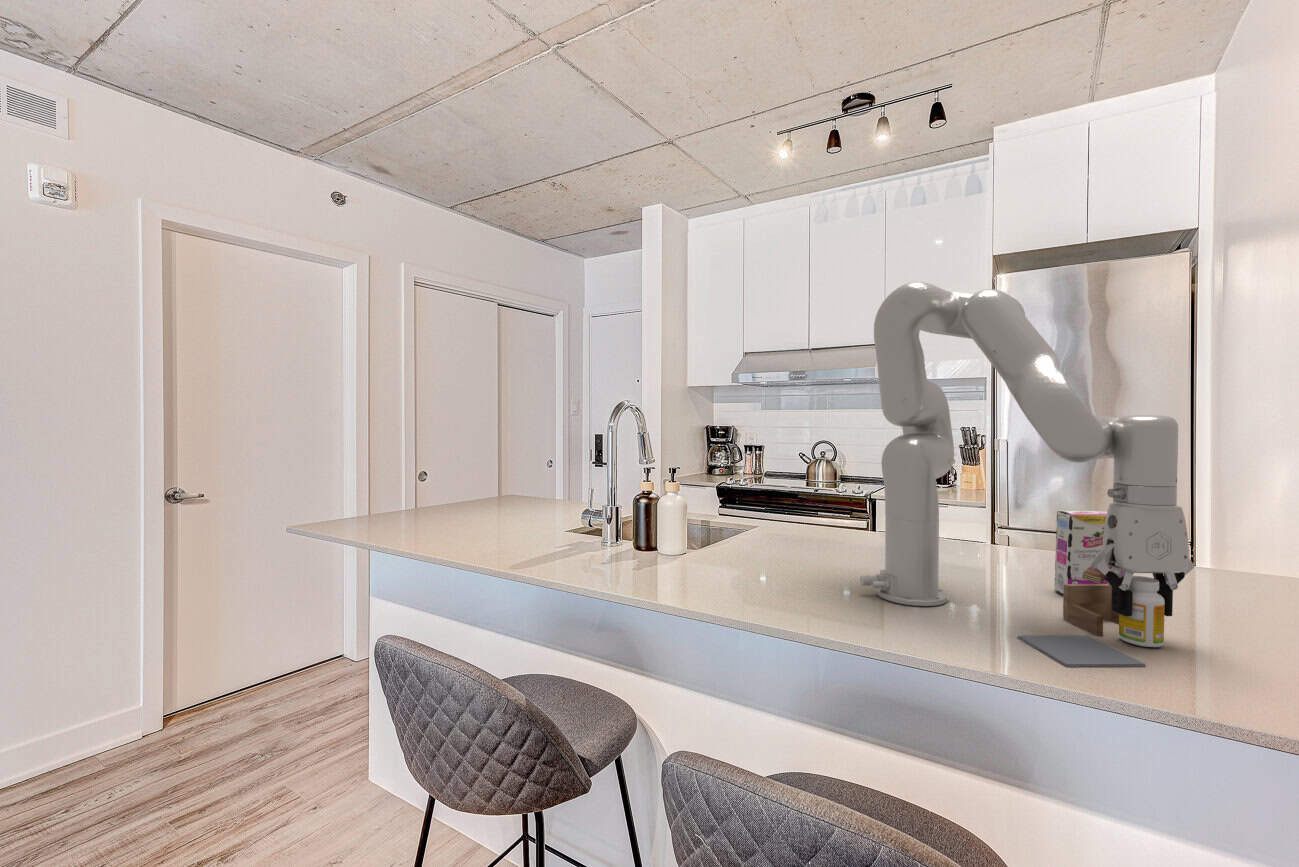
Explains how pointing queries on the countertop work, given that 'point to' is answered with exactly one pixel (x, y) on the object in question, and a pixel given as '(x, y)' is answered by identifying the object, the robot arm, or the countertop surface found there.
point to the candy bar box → (1078, 547)
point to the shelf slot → (1088, 606)
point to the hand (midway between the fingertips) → (1141, 612)
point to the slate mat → (1080, 651)
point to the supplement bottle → (1144, 614)
